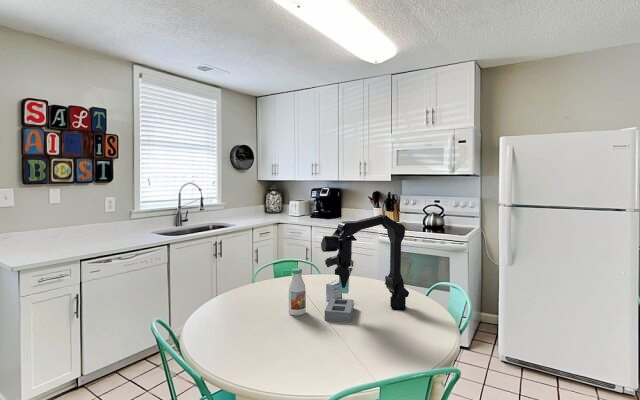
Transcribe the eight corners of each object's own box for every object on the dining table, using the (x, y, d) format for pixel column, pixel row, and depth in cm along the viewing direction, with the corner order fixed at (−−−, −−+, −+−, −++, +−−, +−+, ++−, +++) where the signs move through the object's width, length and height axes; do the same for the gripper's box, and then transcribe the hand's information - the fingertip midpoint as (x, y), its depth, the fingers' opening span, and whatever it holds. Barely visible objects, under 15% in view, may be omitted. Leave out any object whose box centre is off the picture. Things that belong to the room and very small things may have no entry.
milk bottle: (285, 314, 160) (284, 270, 158) (294, 308, 167) (293, 266, 165) (300, 317, 156) (299, 272, 155) (308, 311, 163) (308, 268, 162)
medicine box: (333, 302, 174) (333, 285, 173) (325, 300, 177) (325, 283, 176) (342, 298, 180) (342, 281, 180) (335, 296, 183) (335, 279, 182)
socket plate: (353, 308, 167) (353, 299, 167) (350, 321, 151) (350, 312, 151) (330, 306, 169) (330, 298, 169) (324, 320, 153) (324, 311, 153)
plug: (348, 290, 158) (349, 270, 158) (347, 293, 154) (348, 272, 154) (339, 290, 159) (340, 269, 158) (338, 292, 155) (339, 271, 155)
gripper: (330, 245, 166) (329, 279, 167) (322, 254, 148) (322, 291, 149) (354, 247, 164) (353, 281, 165) (350, 255, 146) (348, 293, 147)
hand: (344, 286), depth 157 cm, fingers closed on plug, 4 cm apart
